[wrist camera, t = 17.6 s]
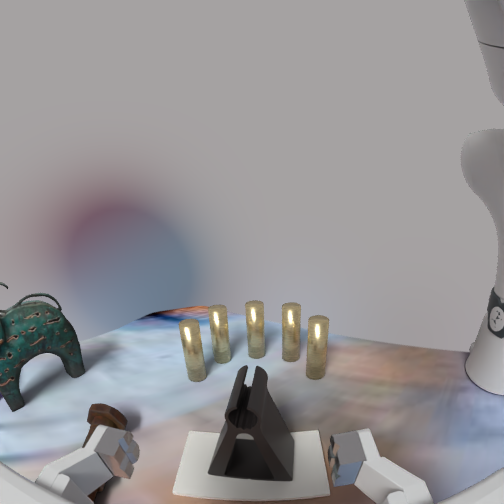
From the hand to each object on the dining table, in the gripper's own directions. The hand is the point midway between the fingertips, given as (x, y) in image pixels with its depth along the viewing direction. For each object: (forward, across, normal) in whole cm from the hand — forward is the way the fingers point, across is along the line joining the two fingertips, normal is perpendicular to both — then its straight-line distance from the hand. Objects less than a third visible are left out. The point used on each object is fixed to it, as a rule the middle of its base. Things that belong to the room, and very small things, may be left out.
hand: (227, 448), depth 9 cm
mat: (+12, +1, +19) cm, 23 cm away
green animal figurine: (+20, +37, +19) cm, 46 cm away
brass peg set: (+33, +1, +20) cm, 39 cm away
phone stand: (+12, +1, +19) cm, 23 cm away
